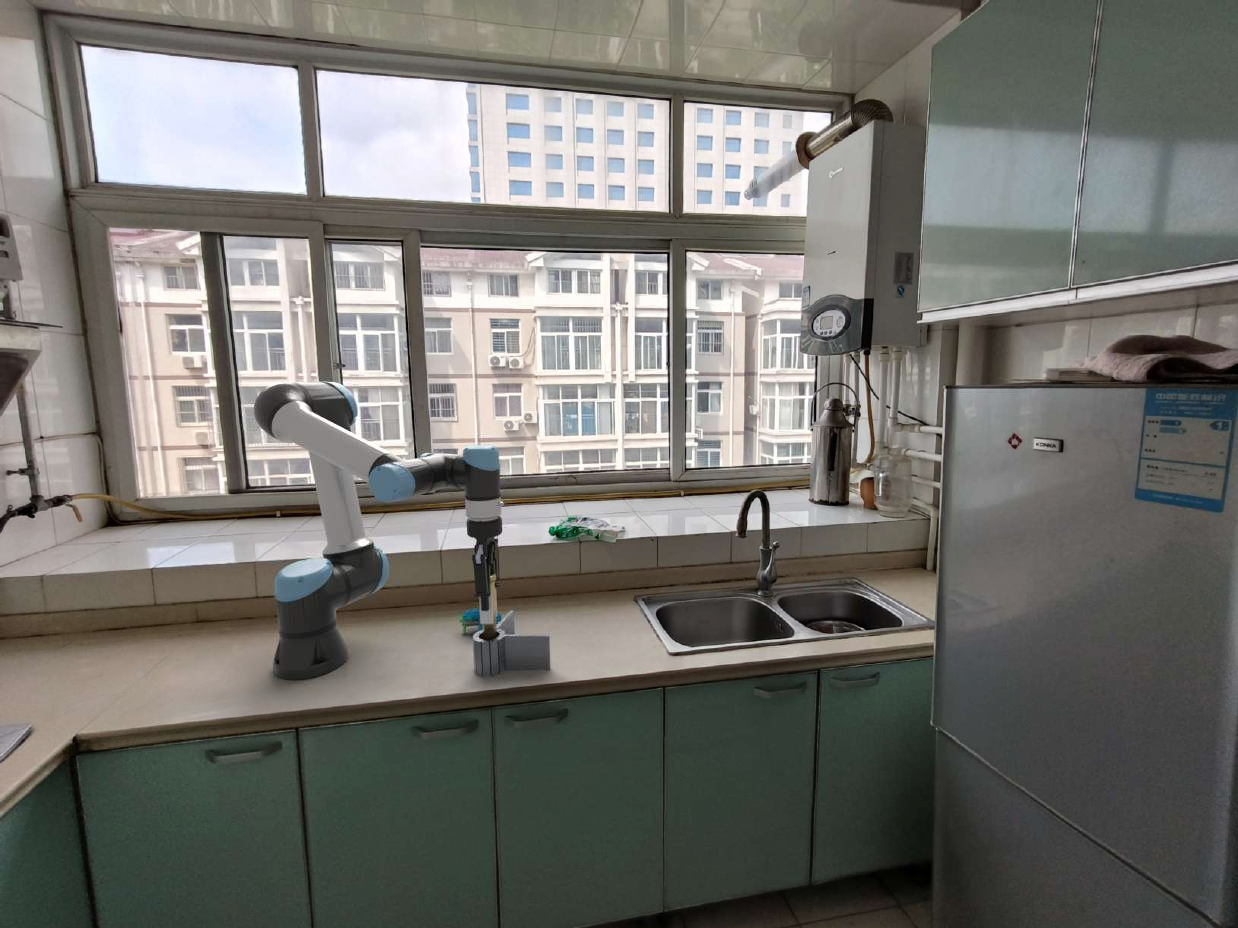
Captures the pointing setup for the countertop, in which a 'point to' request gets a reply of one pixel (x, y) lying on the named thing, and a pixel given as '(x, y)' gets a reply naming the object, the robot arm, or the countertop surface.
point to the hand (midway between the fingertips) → (488, 619)
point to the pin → (491, 629)
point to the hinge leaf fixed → (510, 653)
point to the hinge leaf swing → (507, 623)
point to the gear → (474, 619)
